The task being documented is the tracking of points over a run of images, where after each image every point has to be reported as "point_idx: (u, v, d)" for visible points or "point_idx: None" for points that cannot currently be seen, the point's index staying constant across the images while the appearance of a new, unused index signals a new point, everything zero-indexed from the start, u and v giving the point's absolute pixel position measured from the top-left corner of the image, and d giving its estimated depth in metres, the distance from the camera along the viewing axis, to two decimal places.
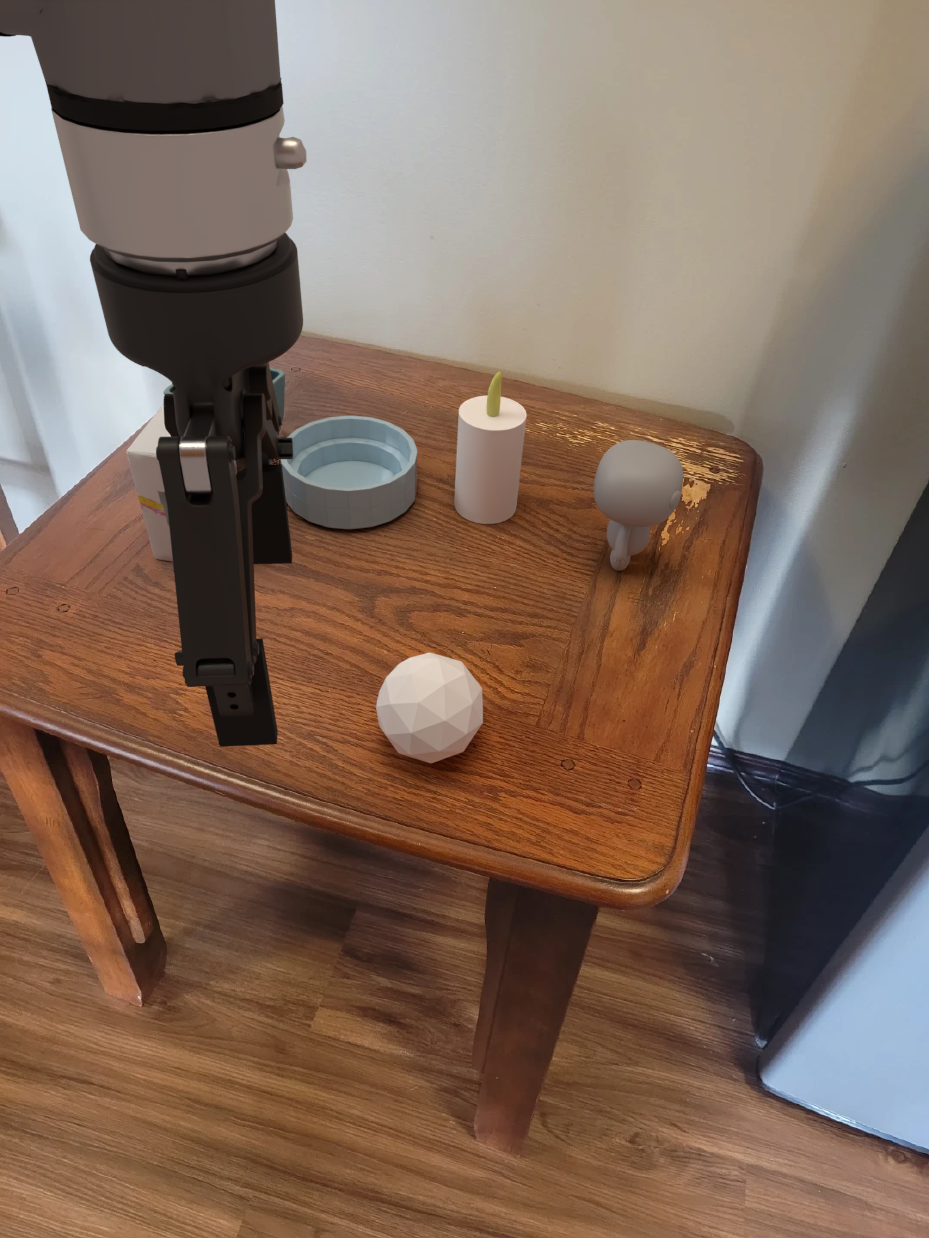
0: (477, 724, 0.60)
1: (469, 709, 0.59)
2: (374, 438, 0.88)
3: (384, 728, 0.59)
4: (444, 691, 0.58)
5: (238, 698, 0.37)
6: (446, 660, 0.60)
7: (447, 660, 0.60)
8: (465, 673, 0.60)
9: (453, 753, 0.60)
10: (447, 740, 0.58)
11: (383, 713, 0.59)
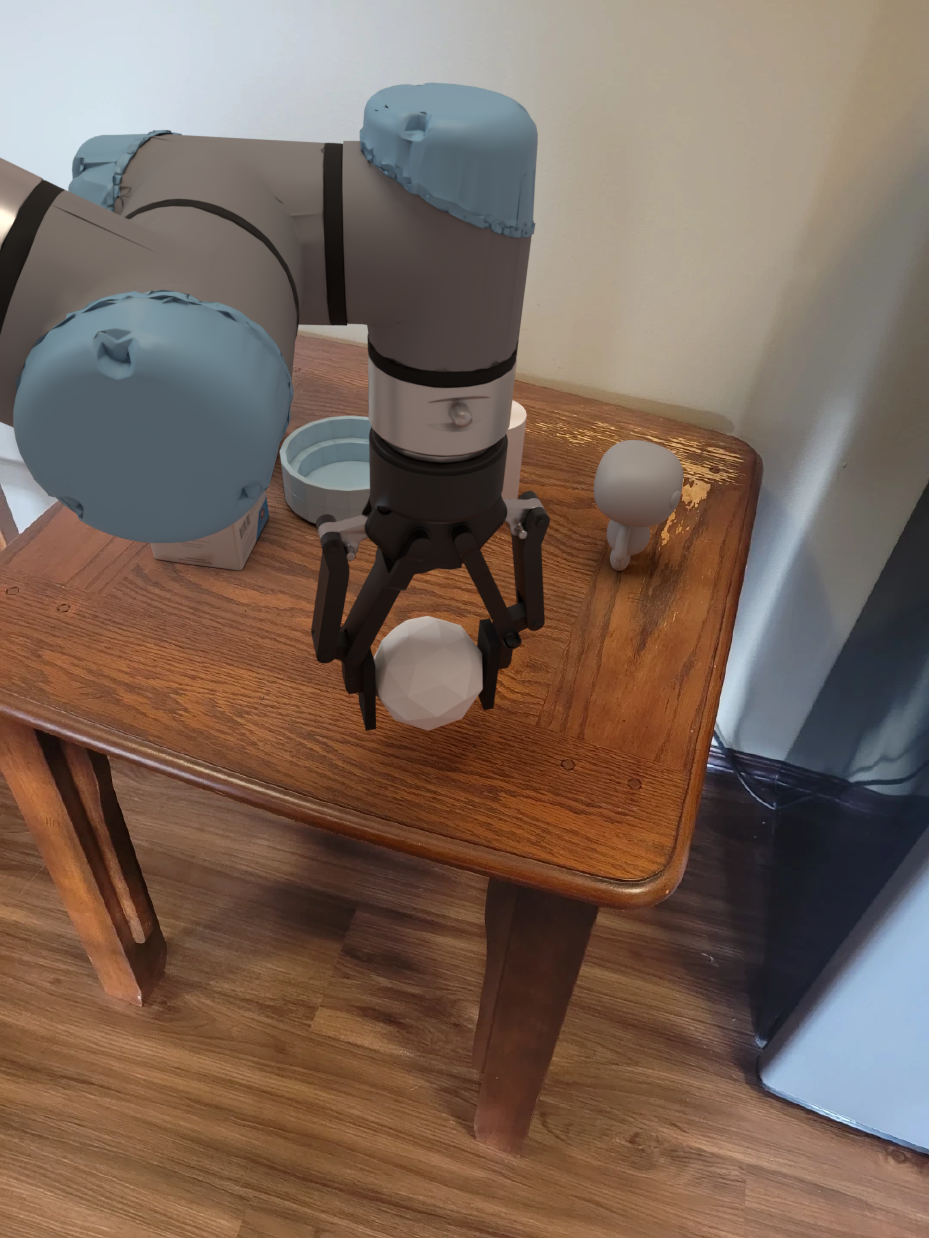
0: (476, 690, 0.57)
1: (469, 673, 0.56)
2: None
3: (379, 693, 0.57)
4: (442, 653, 0.55)
5: (344, 676, 0.56)
6: (445, 623, 0.58)
7: (446, 623, 0.58)
8: (465, 636, 0.57)
9: (451, 720, 0.57)
10: (445, 705, 0.56)
11: (378, 677, 0.57)
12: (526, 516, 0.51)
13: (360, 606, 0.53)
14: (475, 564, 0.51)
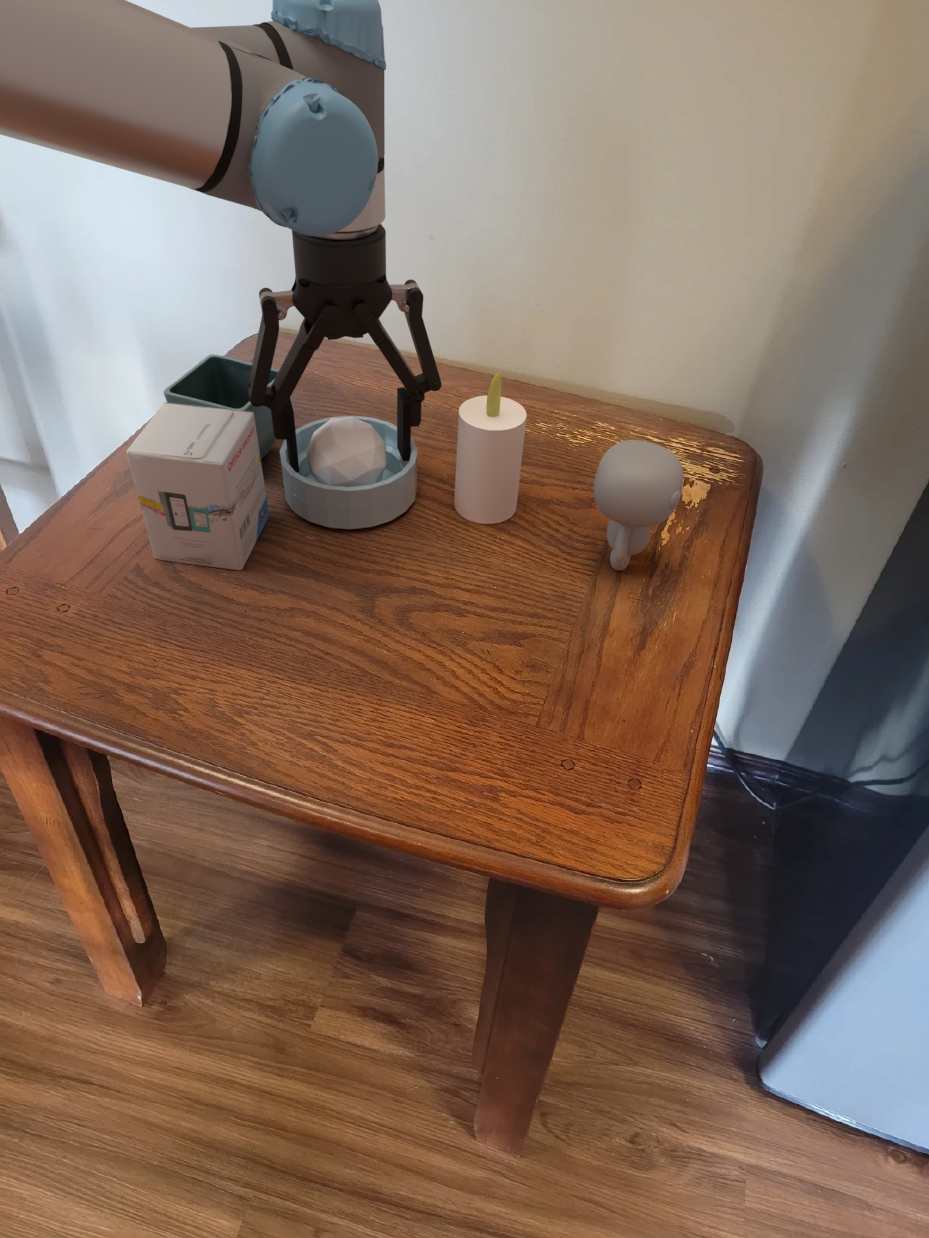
0: (380, 466, 0.82)
1: (373, 450, 0.80)
2: None
3: (312, 467, 0.81)
4: (353, 435, 0.80)
5: (272, 424, 0.78)
6: None
7: (359, 420, 0.82)
8: (371, 428, 0.82)
9: None
10: (356, 472, 0.80)
11: (310, 456, 0.81)
12: (407, 296, 0.73)
13: (286, 365, 0.75)
14: (374, 330, 0.73)
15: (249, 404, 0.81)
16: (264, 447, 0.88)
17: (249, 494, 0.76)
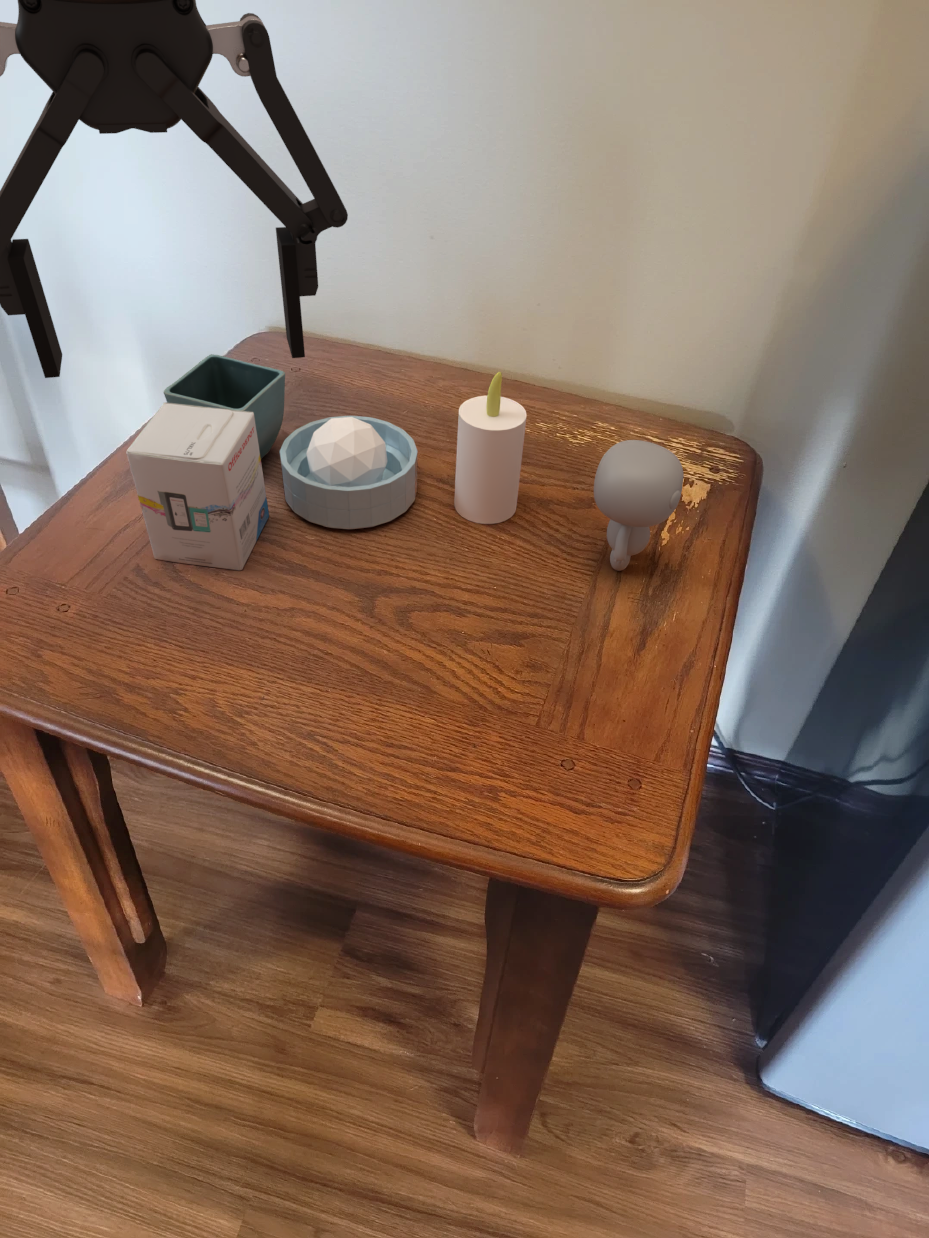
0: (380, 466, 0.82)
1: (373, 450, 0.80)
2: None
3: (312, 467, 0.81)
4: (353, 435, 0.80)
5: None
6: None
7: (359, 420, 0.82)
8: (371, 428, 0.82)
9: None
10: (356, 472, 0.80)
11: (310, 456, 0.81)
12: (242, 41, 0.40)
13: (11, 172, 0.41)
14: (189, 109, 0.40)
15: (249, 404, 0.81)
16: (264, 447, 0.88)
17: (249, 494, 0.76)
